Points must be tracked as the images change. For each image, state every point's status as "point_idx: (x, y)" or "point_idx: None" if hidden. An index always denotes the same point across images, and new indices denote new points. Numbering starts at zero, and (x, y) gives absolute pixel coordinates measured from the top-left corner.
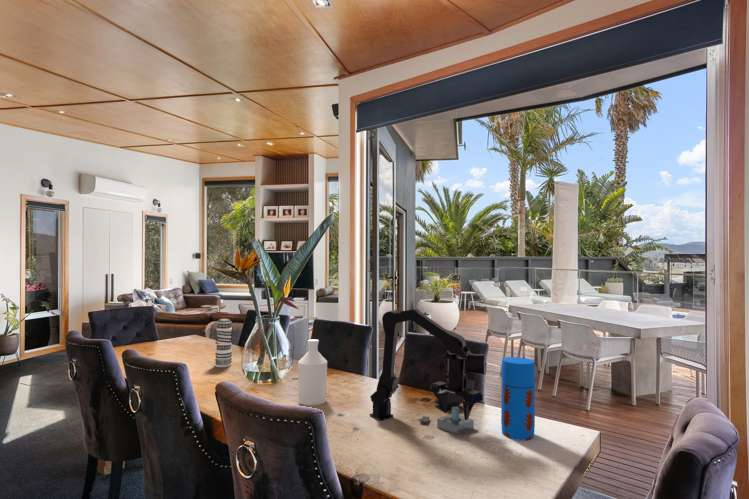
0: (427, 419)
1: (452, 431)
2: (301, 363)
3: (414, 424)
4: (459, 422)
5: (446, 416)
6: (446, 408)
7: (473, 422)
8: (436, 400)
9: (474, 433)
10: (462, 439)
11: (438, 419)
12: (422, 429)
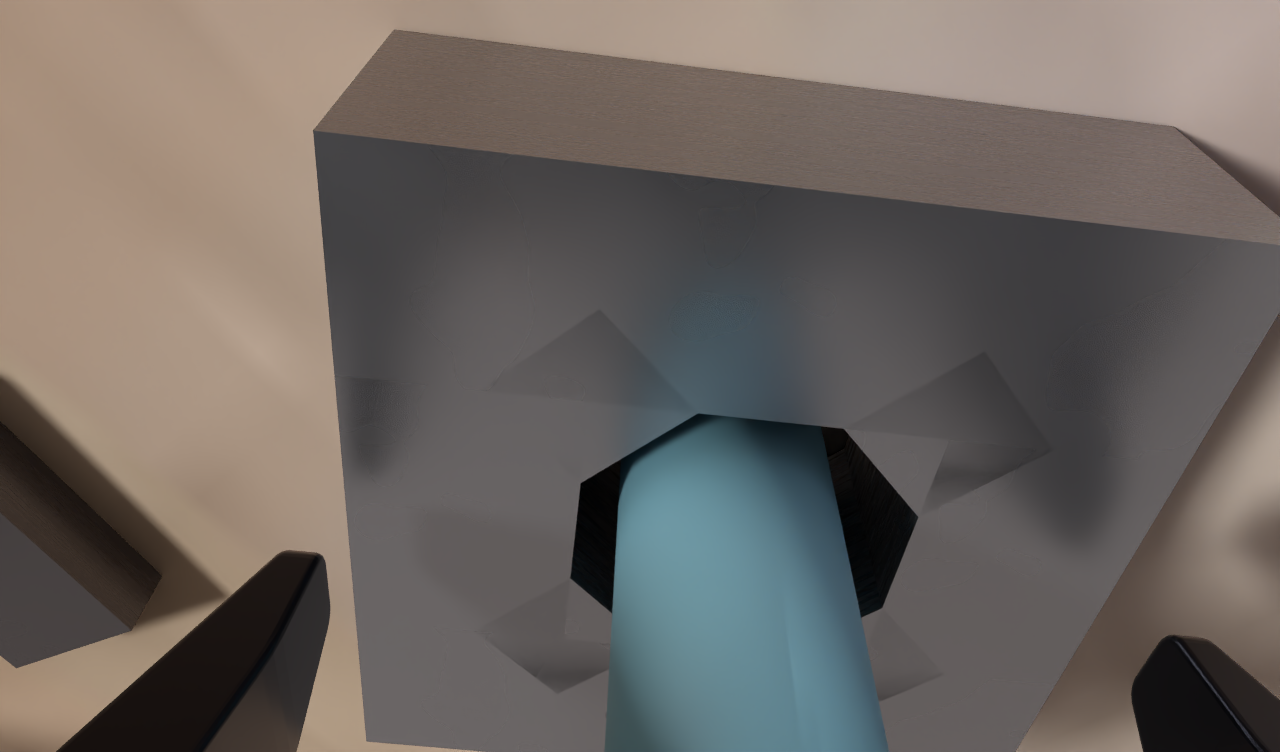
0: (25, 550)
1: None
2: None
3: (23, 679)
4: (936, 649)
5: (400, 520)
6: (277, 676)
7: (1259, 214)
8: None
9: (1252, 392)
10: (1077, 710)
11: (407, 743)
12: (303, 747)
